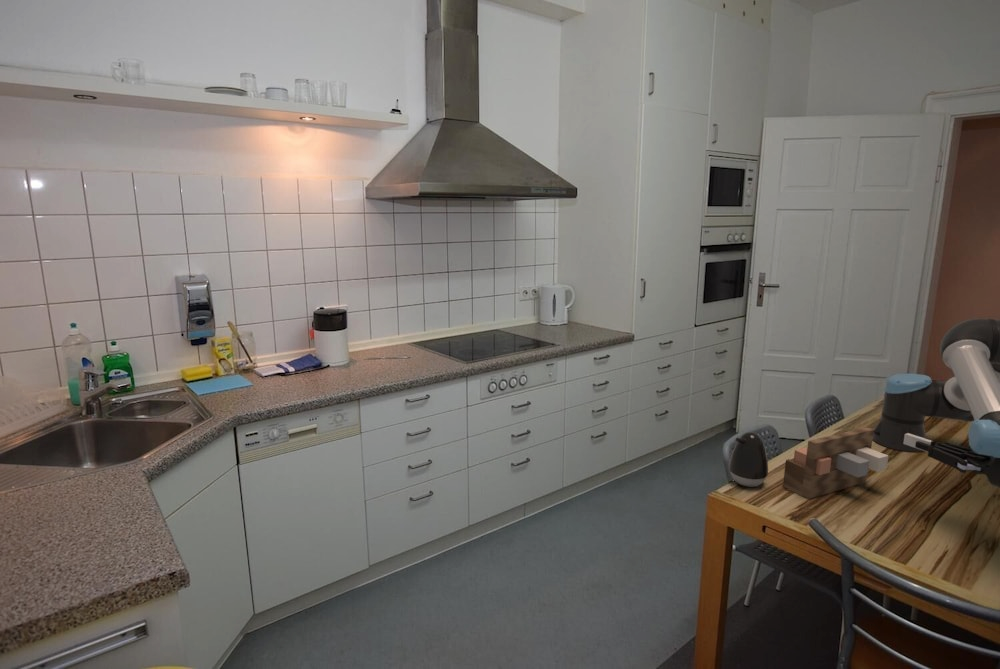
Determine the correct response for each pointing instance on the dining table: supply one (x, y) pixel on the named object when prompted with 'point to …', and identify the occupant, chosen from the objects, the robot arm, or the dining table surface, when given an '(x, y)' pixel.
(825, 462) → the key terracotta
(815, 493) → the key board
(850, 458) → the key slate
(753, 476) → the black penguin figurine
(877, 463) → the key ivory
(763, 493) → the dining table surface
